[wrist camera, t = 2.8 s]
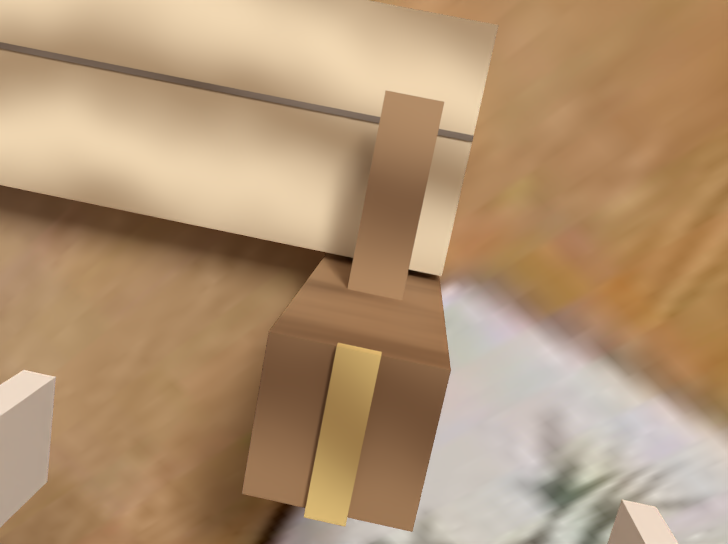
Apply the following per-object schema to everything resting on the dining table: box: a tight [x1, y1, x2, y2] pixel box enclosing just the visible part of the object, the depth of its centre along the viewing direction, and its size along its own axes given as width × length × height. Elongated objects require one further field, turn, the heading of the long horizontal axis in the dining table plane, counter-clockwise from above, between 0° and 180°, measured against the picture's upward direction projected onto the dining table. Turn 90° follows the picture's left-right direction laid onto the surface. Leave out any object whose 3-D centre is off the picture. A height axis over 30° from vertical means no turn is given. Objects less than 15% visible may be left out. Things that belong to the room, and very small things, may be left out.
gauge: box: [242, 90, 451, 532], centre depth 23 cm, size 12×5×12 cm, turn 169°
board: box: [0, 0, 498, 276], centre depth 27 cm, size 10×23×2 cm, turn 79°
